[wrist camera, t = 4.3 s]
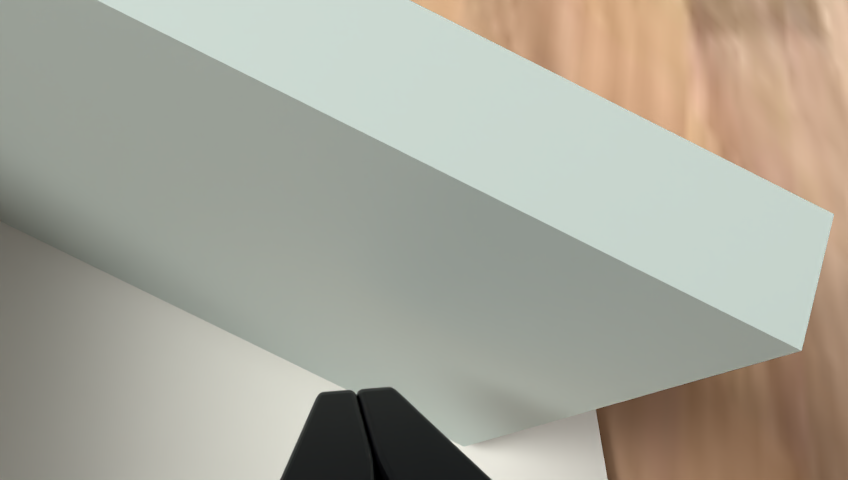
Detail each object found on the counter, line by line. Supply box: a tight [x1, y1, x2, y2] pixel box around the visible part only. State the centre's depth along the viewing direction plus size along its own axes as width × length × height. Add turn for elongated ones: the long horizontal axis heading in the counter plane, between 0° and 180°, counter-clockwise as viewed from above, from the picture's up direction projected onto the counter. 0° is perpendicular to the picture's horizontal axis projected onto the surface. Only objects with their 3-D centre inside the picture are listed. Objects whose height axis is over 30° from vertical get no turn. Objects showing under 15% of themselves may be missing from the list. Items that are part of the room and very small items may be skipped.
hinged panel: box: [0, 0, 834, 447], centre depth 10 cm, size 16×1×10 cm, turn 66°
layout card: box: [0, 221, 608, 480], centre depth 14 cm, size 18×19×1 cm
